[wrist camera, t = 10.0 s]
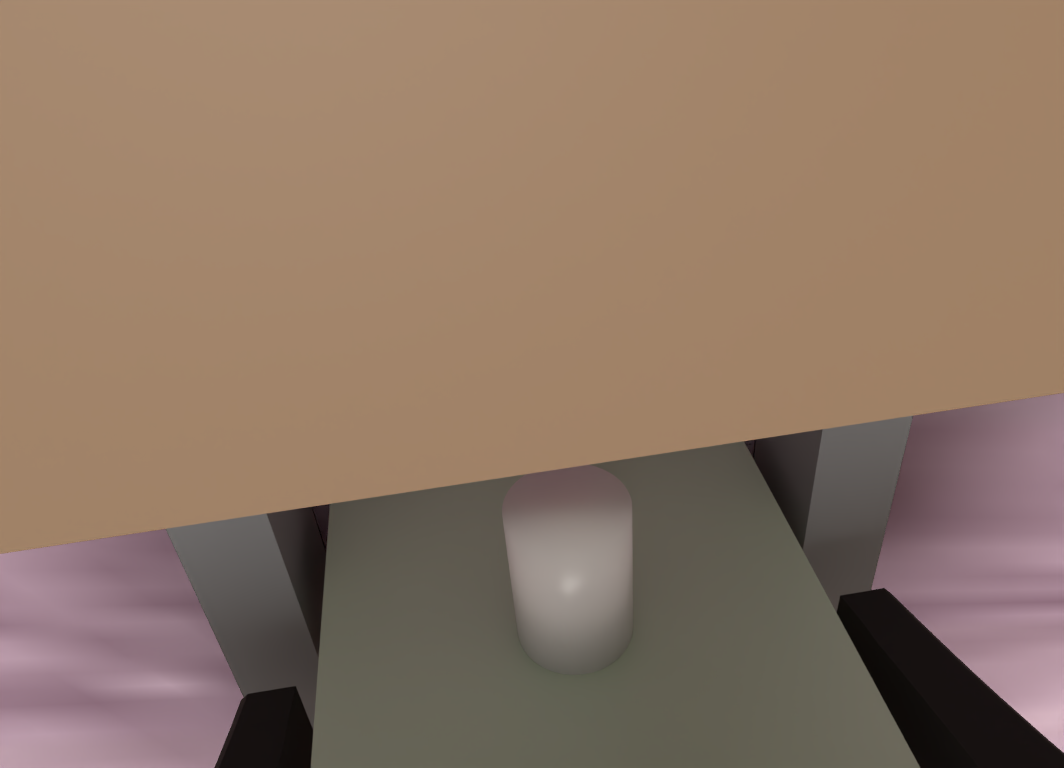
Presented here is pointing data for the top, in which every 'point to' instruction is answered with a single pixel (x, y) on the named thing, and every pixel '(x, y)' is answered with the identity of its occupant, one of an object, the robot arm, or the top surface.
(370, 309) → the pusher lane
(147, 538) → the top surface
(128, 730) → the top surface
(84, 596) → the top surface
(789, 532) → the pusher paddle
